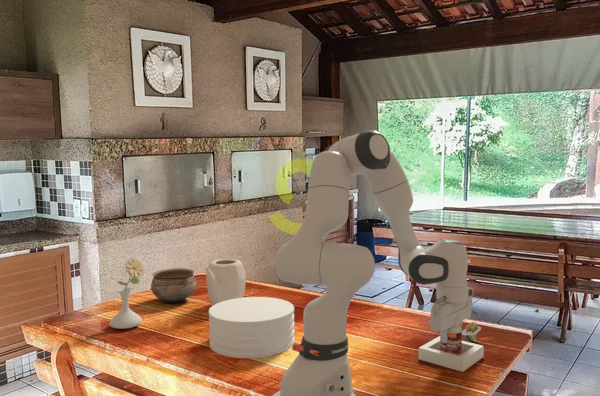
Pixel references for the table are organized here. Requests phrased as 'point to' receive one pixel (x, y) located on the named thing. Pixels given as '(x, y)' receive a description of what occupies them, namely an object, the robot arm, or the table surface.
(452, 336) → the pill bottle
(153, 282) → the cooking pot
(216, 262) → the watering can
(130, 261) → the flower in vase
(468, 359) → the holder block
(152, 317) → the table surface
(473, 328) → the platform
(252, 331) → the plate stack
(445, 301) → the robot arm
